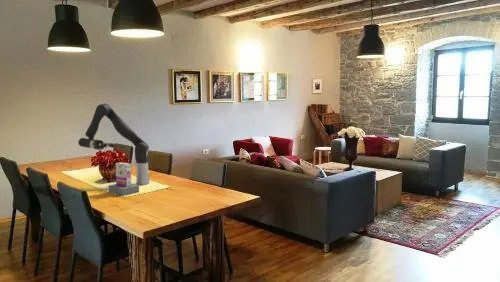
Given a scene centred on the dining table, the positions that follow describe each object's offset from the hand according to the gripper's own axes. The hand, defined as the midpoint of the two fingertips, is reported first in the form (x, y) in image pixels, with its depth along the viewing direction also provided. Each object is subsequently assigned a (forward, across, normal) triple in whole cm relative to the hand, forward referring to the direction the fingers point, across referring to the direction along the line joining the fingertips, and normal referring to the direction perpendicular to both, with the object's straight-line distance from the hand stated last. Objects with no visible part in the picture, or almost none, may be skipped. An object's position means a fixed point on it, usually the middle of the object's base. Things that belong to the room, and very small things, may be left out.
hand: (108, 146), depth 291 cm
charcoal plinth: (+18, 0, +32) cm, 37 cm away
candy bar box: (+17, 0, +27) cm, 32 cm away
